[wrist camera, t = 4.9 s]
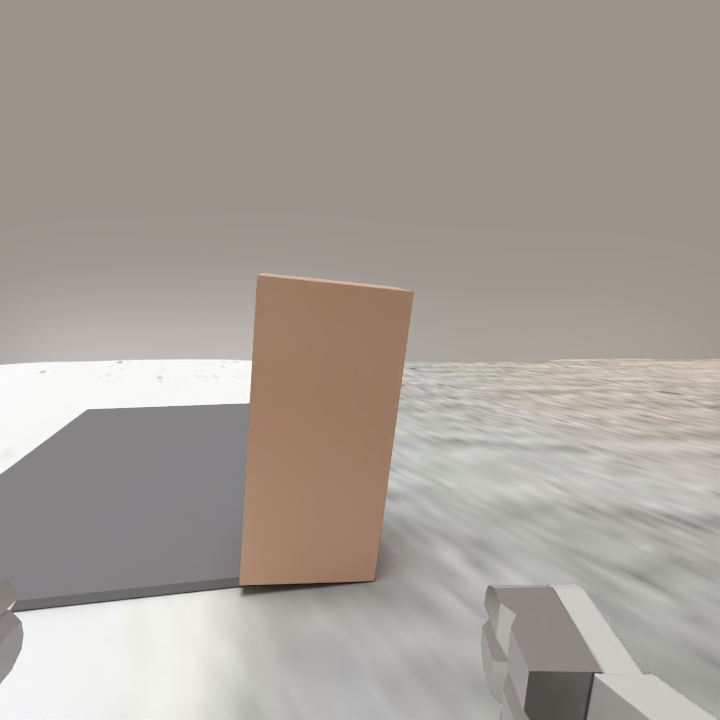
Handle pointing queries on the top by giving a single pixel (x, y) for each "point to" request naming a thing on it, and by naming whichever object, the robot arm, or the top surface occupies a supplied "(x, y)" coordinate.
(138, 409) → the mat
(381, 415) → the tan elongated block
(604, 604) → the top surface
